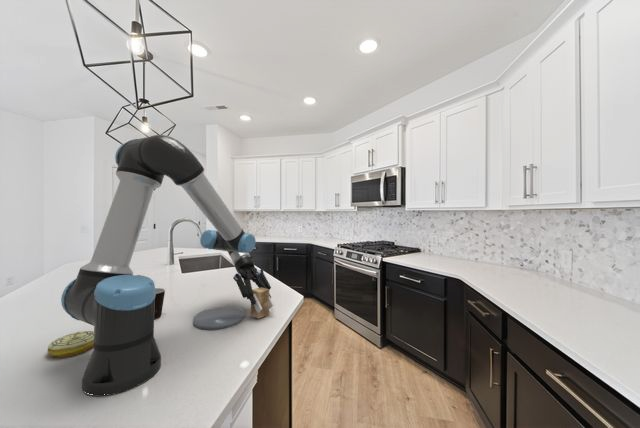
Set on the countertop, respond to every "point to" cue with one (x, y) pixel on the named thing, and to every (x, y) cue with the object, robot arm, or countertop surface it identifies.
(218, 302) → the countertop surface
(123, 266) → the robot arm
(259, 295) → the oak block
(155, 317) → the coffee mug
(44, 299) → the countertop surface
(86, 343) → the decorated donut
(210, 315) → the dish
